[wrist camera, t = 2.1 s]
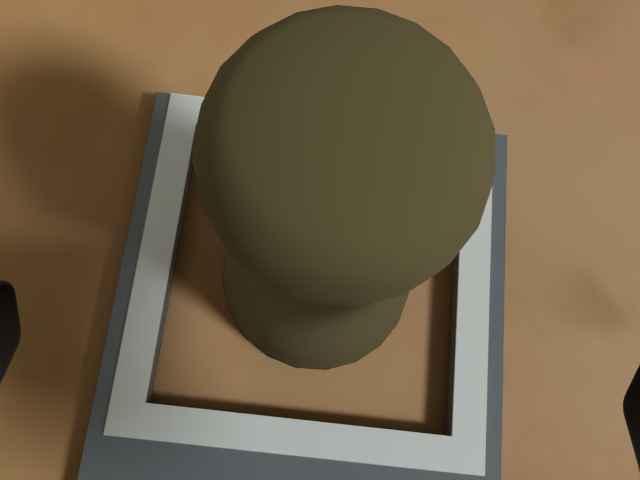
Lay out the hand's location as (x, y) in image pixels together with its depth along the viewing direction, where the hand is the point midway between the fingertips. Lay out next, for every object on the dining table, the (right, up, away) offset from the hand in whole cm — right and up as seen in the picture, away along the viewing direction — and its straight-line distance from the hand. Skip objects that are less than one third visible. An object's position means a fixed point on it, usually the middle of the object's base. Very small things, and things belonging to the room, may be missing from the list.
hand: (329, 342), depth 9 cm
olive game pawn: (0, 0, +11) cm, 11 cm away
